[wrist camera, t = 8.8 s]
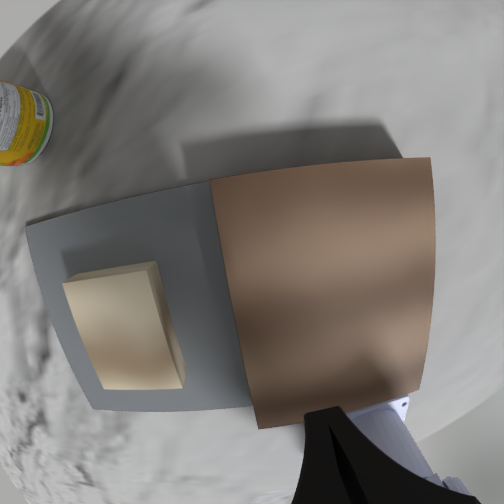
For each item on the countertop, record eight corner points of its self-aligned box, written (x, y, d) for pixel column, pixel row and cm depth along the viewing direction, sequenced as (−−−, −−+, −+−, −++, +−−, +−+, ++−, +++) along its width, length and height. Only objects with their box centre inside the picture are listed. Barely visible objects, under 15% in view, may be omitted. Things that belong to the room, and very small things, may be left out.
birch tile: (104, 389, 17) (113, 373, 19) (182, 388, 17) (187, 370, 19) (62, 283, 15) (77, 273, 17) (146, 270, 15) (156, 260, 17)
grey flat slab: (252, 402, 20) (252, 405, 20) (94, 406, 20) (92, 408, 20) (210, 181, 16) (209, 181, 16) (27, 226, 16) (24, 226, 16)
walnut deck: (402, 368, 20) (419, 389, 17) (256, 401, 20) (258, 429, 17) (404, 159, 16) (430, 157, 13) (215, 180, 16) (209, 179, 13)
